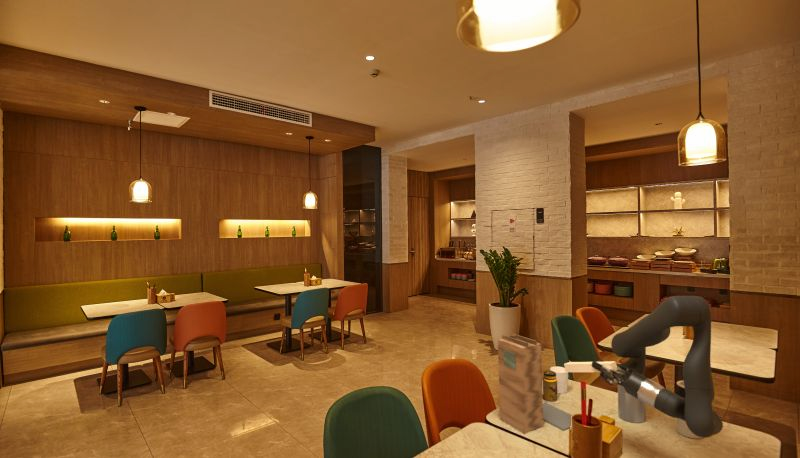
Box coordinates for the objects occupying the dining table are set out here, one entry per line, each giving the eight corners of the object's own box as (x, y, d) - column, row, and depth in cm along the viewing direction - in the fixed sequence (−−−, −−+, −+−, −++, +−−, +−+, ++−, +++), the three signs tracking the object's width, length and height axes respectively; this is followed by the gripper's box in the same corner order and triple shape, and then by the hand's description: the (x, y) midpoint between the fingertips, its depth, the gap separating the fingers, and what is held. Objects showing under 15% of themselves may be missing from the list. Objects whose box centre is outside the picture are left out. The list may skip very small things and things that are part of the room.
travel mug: (671, 431, 148) (670, 382, 147) (685, 426, 151) (684, 378, 151) (694, 441, 140) (693, 390, 140) (708, 436, 143) (707, 386, 143)
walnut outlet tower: (518, 413, 165) (516, 332, 164) (543, 426, 153) (541, 339, 153) (499, 419, 160) (497, 336, 159) (523, 434, 148) (521, 344, 148)
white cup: (571, 394, 181) (571, 372, 181) (554, 394, 181) (553, 372, 181) (564, 387, 189) (564, 366, 189) (548, 387, 189) (547, 366, 189)
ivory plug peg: (570, 370, 152) (568, 362, 153) (618, 370, 137) (615, 361, 138) (566, 372, 151) (563, 364, 151) (613, 372, 135) (610, 363, 136)
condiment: (559, 403, 173) (558, 375, 172) (538, 401, 175) (537, 374, 175) (557, 396, 180) (557, 369, 179) (537, 394, 182) (537, 368, 182)
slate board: (545, 403, 172) (545, 402, 172) (584, 422, 156) (584, 420, 156) (525, 410, 167) (525, 409, 167) (563, 430, 150) (563, 429, 150)
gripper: (658, 374, 131) (608, 348, 145) (636, 385, 124) (585, 357, 138) (653, 394, 133) (604, 367, 147) (631, 406, 125) (581, 376, 139)
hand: (595, 362), depth 142 cm, fingers closed on ivory plug peg, 3 cm apart
